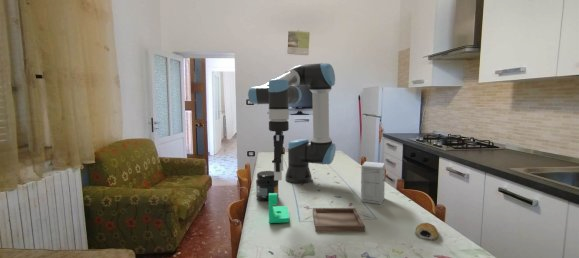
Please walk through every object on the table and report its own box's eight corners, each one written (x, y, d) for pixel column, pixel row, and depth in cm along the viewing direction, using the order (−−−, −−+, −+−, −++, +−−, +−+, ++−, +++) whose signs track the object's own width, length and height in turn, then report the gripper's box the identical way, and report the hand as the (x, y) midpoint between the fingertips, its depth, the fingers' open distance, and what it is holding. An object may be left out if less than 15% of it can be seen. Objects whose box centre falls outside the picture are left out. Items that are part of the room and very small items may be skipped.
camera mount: (289, 224, 106) (289, 198, 105) (269, 225, 106) (268, 199, 104) (287, 211, 118) (286, 188, 117) (268, 212, 117) (268, 188, 116)
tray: (312, 212, 117) (312, 207, 117) (354, 212, 116) (355, 208, 116) (315, 231, 100) (315, 226, 100) (364, 231, 100) (364, 226, 100)
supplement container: (281, 195, 137) (281, 171, 136) (273, 203, 127) (273, 177, 126) (262, 193, 141) (261, 169, 139) (252, 200, 131) (251, 175, 129)
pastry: (419, 226, 104) (419, 216, 104) (439, 231, 101) (440, 221, 100) (414, 237, 96) (414, 226, 96) (436, 242, 93) (437, 231, 92)
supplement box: (384, 197, 133) (385, 162, 131) (382, 204, 125) (383, 167, 123) (364, 195, 137) (364, 161, 135) (360, 201, 129) (361, 165, 127)
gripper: (271, 118, 120) (272, 167, 122) (265, 123, 95) (266, 184, 97) (289, 118, 120) (289, 167, 122) (287, 123, 95) (287, 184, 97)
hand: (279, 175), depth 110 cm, fingers open, 13 cm apart
